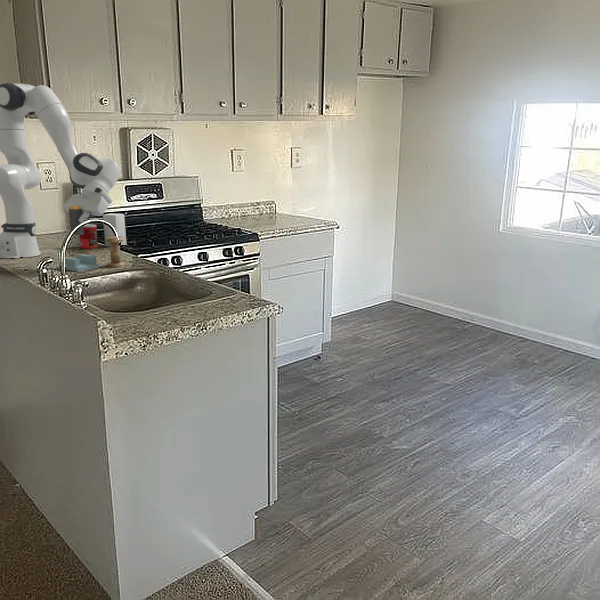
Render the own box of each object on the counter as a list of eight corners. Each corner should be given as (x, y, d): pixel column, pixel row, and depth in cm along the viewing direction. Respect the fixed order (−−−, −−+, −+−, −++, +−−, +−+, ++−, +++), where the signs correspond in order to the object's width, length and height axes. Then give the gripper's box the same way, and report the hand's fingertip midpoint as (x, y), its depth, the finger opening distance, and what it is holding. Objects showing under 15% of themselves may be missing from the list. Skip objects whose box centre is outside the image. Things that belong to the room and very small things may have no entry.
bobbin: (104, 267, 248) (102, 238, 245) (110, 263, 254) (108, 236, 252) (121, 267, 247) (120, 239, 245) (127, 264, 254) (125, 237, 251)
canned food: (92, 249, 286) (91, 226, 284) (76, 248, 288) (75, 225, 285) (100, 247, 294) (99, 224, 291) (85, 246, 295) (84, 223, 292)
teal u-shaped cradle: (58, 267, 244) (57, 256, 242) (79, 264, 252) (78, 253, 251) (78, 271, 237) (77, 260, 236) (99, 267, 246) (98, 256, 244)
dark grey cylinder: (70, 234, 241) (68, 206, 238) (78, 233, 244) (76, 206, 241) (76, 235, 239) (74, 207, 236) (83, 234, 242) (82, 206, 239)
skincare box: (126, 246, 299) (125, 214, 295) (117, 247, 293) (115, 215, 290) (114, 244, 303) (112, 212, 299) (104, 246, 297) (102, 213, 293)
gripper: (71, 187, 248) (52, 213, 243) (106, 190, 238) (86, 217, 232) (81, 198, 253) (63, 223, 247) (115, 201, 242) (97, 228, 237)
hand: (74, 220), depth 239 cm, fingers closed on dark grey cylinder, 3 cm apart
